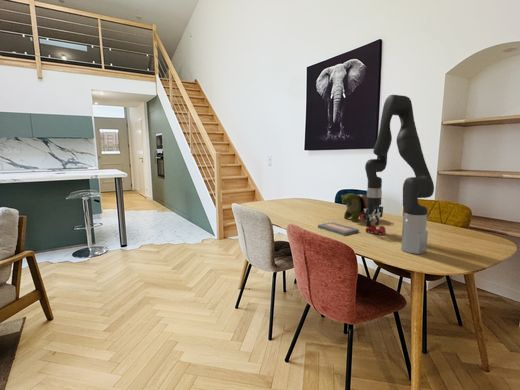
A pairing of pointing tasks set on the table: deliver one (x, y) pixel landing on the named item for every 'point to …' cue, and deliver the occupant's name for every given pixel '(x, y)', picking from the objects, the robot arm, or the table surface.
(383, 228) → the toy fire truck
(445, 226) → the table surface
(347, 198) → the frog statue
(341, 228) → the board
